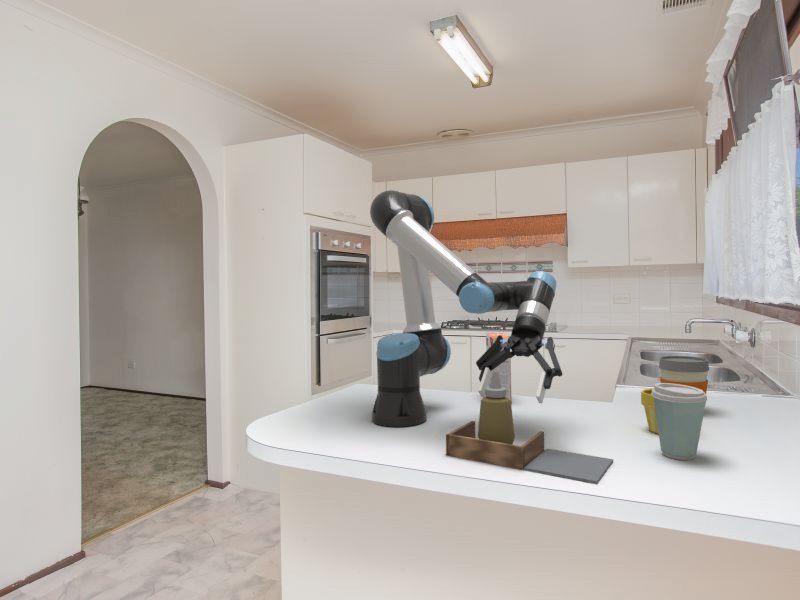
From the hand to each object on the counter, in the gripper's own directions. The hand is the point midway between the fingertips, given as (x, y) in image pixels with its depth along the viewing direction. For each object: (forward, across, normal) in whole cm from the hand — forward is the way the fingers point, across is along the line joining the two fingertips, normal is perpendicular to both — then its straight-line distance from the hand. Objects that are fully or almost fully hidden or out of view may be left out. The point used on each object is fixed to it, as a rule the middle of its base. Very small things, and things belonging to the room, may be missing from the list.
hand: (509, 397), depth 116 cm
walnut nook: (+11, +2, -6) cm, 13 cm away
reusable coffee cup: (-30, -30, -49) cm, 65 cm away
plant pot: (-14, -28, -32) cm, 44 cm away
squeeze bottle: (+11, +2, -6) cm, 13 cm away
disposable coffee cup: (-1, -32, -19) cm, 37 cm away
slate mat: (+11, -14, -6) cm, 19 cm away
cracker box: (-23, +21, -41) cm, 51 cm away
